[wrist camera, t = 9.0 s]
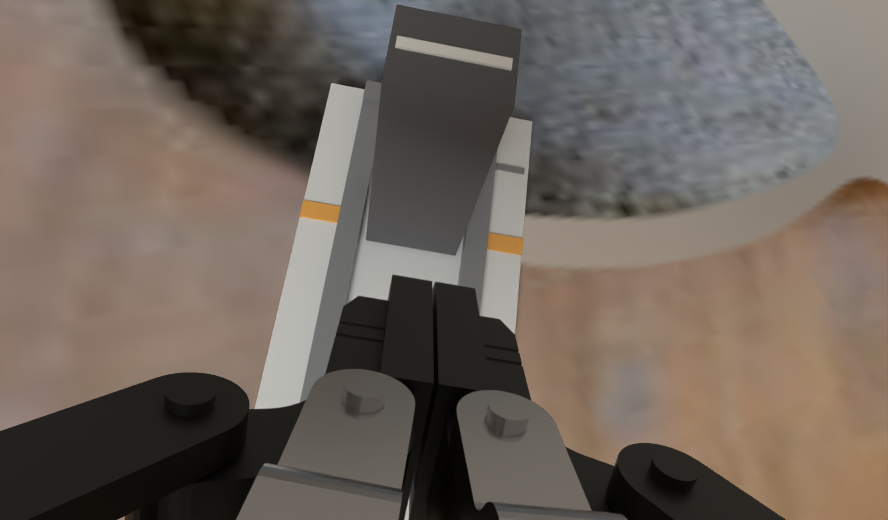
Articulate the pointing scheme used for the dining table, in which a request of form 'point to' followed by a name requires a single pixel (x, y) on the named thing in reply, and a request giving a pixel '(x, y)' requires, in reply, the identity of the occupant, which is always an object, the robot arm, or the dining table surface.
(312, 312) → the fader console
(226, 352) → the dining table surface
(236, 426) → the robot arm
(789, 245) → the dining table surface
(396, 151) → the fader tab
